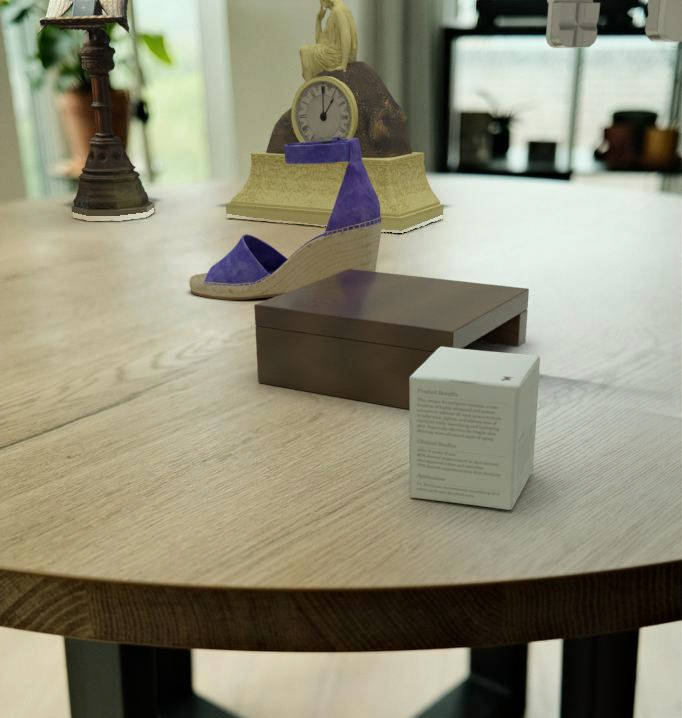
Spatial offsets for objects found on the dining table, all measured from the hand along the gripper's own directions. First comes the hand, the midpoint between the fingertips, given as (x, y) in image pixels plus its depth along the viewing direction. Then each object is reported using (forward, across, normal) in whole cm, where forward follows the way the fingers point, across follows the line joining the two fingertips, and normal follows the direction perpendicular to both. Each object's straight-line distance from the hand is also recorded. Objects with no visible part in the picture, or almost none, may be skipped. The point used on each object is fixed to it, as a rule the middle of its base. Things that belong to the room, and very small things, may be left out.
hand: (617, 45), depth 41 cm
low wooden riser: (+22, +33, 0) cm, 40 cm away
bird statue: (+21, +114, +22) cm, 118 cm away
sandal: (+22, +61, +5) cm, 65 cm away
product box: (+23, +11, +1) cm, 26 cm away
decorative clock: (+20, +105, -9) cm, 107 cm away
